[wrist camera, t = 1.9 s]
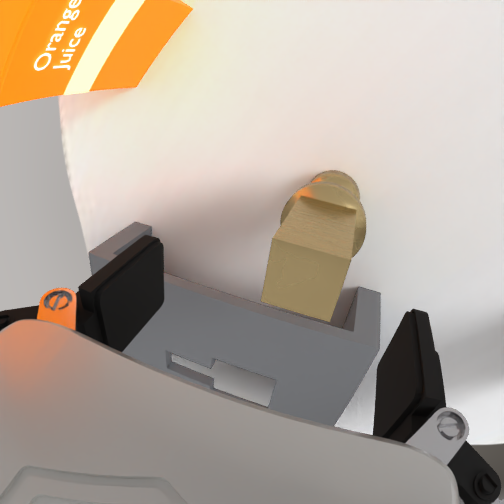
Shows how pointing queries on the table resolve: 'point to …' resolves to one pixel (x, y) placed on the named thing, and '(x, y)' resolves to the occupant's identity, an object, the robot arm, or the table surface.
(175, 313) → the keyhole board
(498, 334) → the table surface
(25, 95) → the orange juice
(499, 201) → the table surface
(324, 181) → the brass peg
